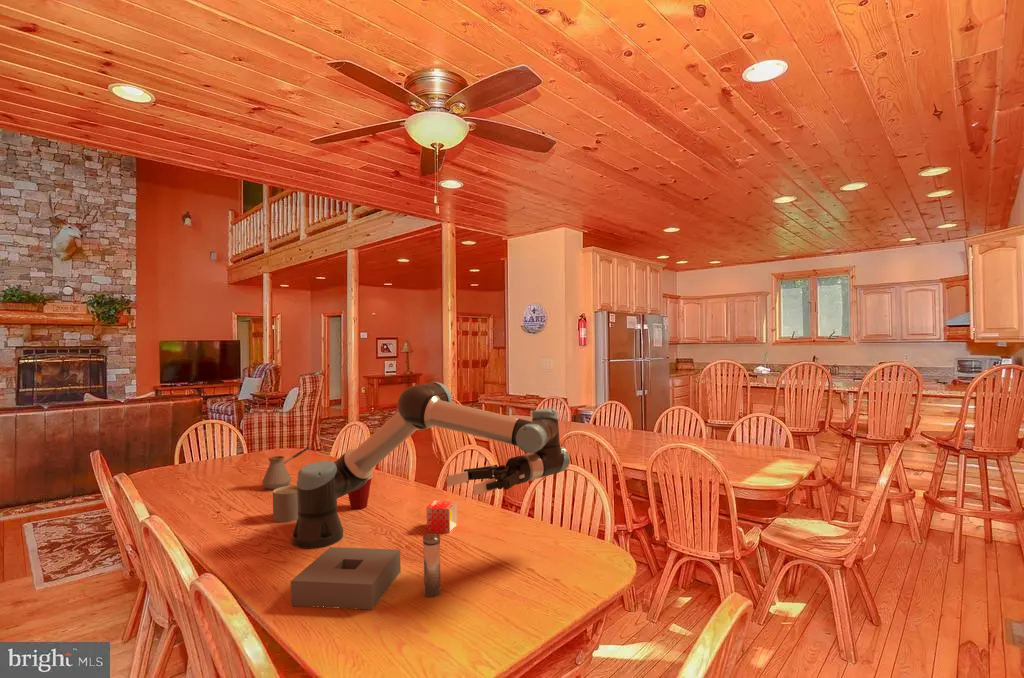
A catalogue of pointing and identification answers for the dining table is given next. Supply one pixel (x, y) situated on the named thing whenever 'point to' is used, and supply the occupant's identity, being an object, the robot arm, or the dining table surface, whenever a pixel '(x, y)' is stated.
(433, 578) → the steel pin
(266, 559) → the dining table surface
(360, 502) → the plastic cup
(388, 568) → the block
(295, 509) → the coffee mug
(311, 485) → the robot arm
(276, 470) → the coffee pot
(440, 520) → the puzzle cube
